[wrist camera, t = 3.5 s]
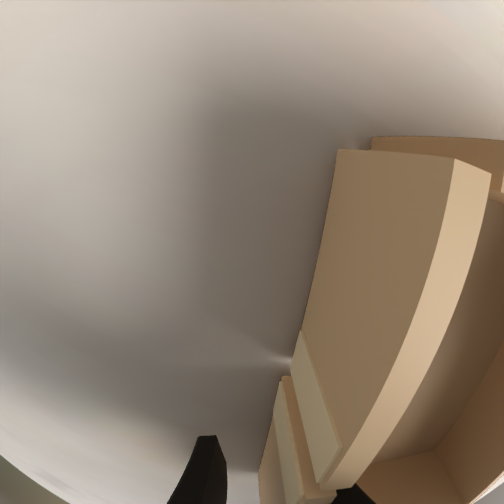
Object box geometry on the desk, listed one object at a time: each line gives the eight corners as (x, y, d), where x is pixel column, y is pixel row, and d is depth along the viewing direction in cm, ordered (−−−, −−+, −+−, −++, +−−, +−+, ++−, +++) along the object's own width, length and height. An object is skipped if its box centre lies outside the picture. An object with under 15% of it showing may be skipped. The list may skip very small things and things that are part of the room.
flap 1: (273, 474, 13) (284, 556, 8) (256, 474, 13) (262, 557, 8) (304, 375, 10) (337, 495, 6) (279, 375, 10) (302, 499, 6)
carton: (435, 451, 14) (465, 509, 9) (276, 474, 13) (287, 558, 8) (549, 207, 9) (629, 240, 4) (372, 137, 8) (507, 141, 3)
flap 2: (312, 367, 10) (351, 487, 6) (288, 367, 10) (316, 491, 5) (364, 154, 8) (491, 173, 3) (334, 148, 8) (449, 156, 3)
